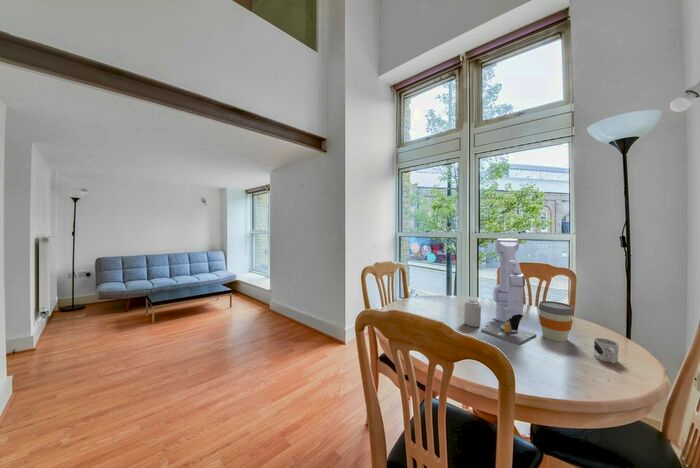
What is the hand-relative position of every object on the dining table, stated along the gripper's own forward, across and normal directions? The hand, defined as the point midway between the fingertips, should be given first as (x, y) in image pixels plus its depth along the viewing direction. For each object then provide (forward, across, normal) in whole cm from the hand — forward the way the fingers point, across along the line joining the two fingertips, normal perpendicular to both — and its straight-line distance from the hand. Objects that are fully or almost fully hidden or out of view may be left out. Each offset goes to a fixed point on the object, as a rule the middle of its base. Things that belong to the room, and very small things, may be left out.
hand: (514, 329), depth 120 cm
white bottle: (+3, +1, -19) cm, 19 cm away
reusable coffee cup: (+4, -14, +12) cm, 19 cm away
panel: (+3, -2, -3) cm, 5 cm away
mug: (+4, -4, +30) cm, 31 cm away
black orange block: (+2, -2, -3) cm, 4 cm away
